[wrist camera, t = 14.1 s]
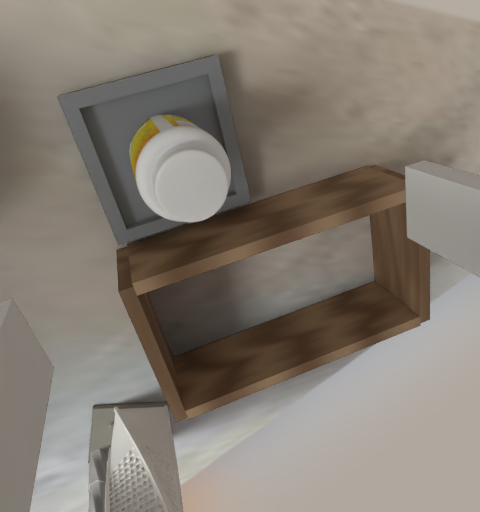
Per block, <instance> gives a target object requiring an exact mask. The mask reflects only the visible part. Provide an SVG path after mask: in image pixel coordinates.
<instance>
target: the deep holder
mask: <svg viewBox="0 0 480 512" xmlns="http://www.w3.org/2000/svg"><path fill="white" fill-rule="evenodd" d="M368 215H370V221H371V234H372V247H373V260H374V274H375V281H374V282H371V283H369V284H366V285H363V286H361V287H358V288H355V289H353V290H350V291H347V292H345V293H342V294H340V295H337V296H334V297H332V298H329V299H326V300H324V301H321V302H318V303H316V304H313V305H310V306H308V307H305V308H303V309H300V310H297V311H295V312H292V313H289V314H287V315H284V316H281V317H279V318H276V319H273V320H271V321H268V322H266V323H263V324H260V325H258V326H255V327H252V328H250V329H247V330H244V331H242V332H239V333H237V334H234V335H231V336H229V337H226V338H223V339H221V340H218V341H215V342H213V343H210V344H207V345H205V346H202V347H200V348H197V349H194V350H192V351H189V352H186V353H184V354H181V355H178V356H176V357H172V354H171V352H170V349H169V347H168V344H167V342H166V339H165V337H164V334H163V332H162V329H161V327H160V324H159V322H158V319H157V317H156V314H155V312H154V309H153V307H152V304H151V302H150V299H149V297H148V294H147V292H150V291H152V290H155V289H158V288H161V287H164V286H167V285H170V284H173V283H175V282H178V281H181V280H184V279H187V278H190V277H193V276H196V275H198V274H201V273H204V272H207V271H210V270H213V269H216V268H218V267H221V266H224V265H227V264H230V263H233V262H236V261H239V260H241V259H244V258H247V257H250V256H253V255H256V254H259V253H261V252H264V251H267V250H270V249H273V248H276V247H279V246H282V245H284V244H287V243H290V242H293V241H296V240H299V239H302V238H304V237H307V236H310V235H313V234H316V233H319V232H322V231H325V230H327V229H330V228H333V227H336V226H339V225H342V224H345V223H347V222H350V221H353V220H356V219H359V218H362V217H365V216H368ZM127 245H128V247H126V248H123V249H120V250H117V270H118V290H119V294H120V296H121V298H122V301H123V303H124V305H125V307H126V310H127V312H128V314H129V317H130V319H131V321H132V323H133V326H134V328H135V330H136V332H137V335H138V337H139V339H140V342H141V344H142V346H143V348H144V351H145V353H146V355H147V357H148V360H149V362H150V364H151V367H152V369H153V371H154V373H155V376H156V378H157V380H158V382H159V385H160V387H161V389H162V392H163V394H164V396H165V398H166V401H167V403H168V405H169V407H170V410H171V412H172V414H173V417H174V419H175V421H176V422H178V421H180V420H183V419H185V418H188V419H191V418H194V417H196V416H198V415H201V414H203V413H206V412H208V411H211V410H213V409H216V408H218V407H221V406H223V405H226V404H228V403H230V402H233V401H235V400H238V399H240V398H243V397H245V396H248V395H250V394H253V393H255V392H258V391H260V390H262V389H265V388H267V387H270V386H272V385H275V384H277V383H280V382H282V381H285V380H287V379H290V378H292V377H294V376H297V375H299V374H302V373H304V372H307V371H309V370H312V369H314V368H317V367H319V366H322V365H324V364H326V363H329V362H331V361H334V360H336V359H339V358H341V357H344V356H346V355H349V354H351V353H354V352H356V351H359V350H361V349H363V348H366V347H368V346H371V345H373V344H376V343H378V342H381V341H383V340H386V339H388V338H391V337H393V336H395V335H398V334H400V333H403V332H405V331H408V330H410V329H412V328H415V327H418V326H420V323H422V322H425V321H427V320H429V319H430V250H429V249H427V248H426V247H424V246H422V245H420V244H418V243H417V242H415V241H413V240H411V239H409V238H407V218H406V185H405V176H404V175H402V174H399V173H396V172H393V171H390V170H388V169H385V168H382V167H379V166H373V167H368V166H365V167H362V168H359V169H356V170H352V171H349V172H346V173H343V174H340V175H337V176H334V177H331V178H328V179H325V180H322V181H319V182H316V183H313V184H310V185H307V186H304V187H300V188H297V189H294V190H291V191H288V192H285V193H282V194H279V195H276V196H273V197H270V198H267V199H264V200H261V201H258V202H255V203H252V204H248V205H245V206H242V207H239V208H236V209H233V210H230V211H227V212H224V213H221V214H218V215H215V216H212V217H209V218H208V219H205V220H203V221H199V222H193V223H190V224H187V225H184V226H181V227H178V228H175V229H172V230H169V231H166V232H163V233H160V234H157V235H154V236H151V237H148V238H144V239H141V240H138V241H135V242H132V243H129V244H127Z"/></svg>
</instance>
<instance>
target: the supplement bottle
mask: <svg viewBox="0 0 480 512" xmlns="http://www.w3.org/2000/svg"><path fill="white" fill-rule="evenodd" d="M129 154H130V161H131V165H132V169H133V173H134V177H135V181H136V184H137V187H138V190H139V193H140V195H141V197H142V199H143V200H144V202H145V203H146V204H147V205H148V207H149V208H150V209H151V210H153V211H154V212H155V213H156V214H158V215H160V216H161V217H163V218H166V219H169V220H172V221H178V222H199V221H203V220H205V219H208V218H209V217H211V216H213V215H214V214H215V213H216V212H217V211H218V210H219V209H220V208H221V207H222V205H223V204H224V202H225V199H226V197H227V193H228V189H229V186H230V180H231V168H230V162H229V159H228V156H227V154H226V152H225V150H224V149H223V147H222V146H221V144H220V143H219V142H218V141H217V140H216V139H215V138H214V137H213V136H212V135H210V134H209V133H207V132H206V131H204V130H202V129H201V128H199V127H198V126H196V125H195V124H193V123H192V122H190V121H188V120H187V119H185V118H183V117H180V116H177V115H173V114H160V115H156V116H153V117H151V118H149V119H147V120H146V121H144V122H143V123H142V124H141V125H140V126H139V127H138V128H137V129H136V131H135V133H134V134H133V136H132V139H131V142H130V149H129Z"/></svg>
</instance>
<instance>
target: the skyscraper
mask: <svg viewBox="0 0 480 512" xmlns="http://www.w3.org/2000/svg"><path fill="white" fill-rule="evenodd" d="M107 462H108V463H107ZM88 463H89V486H88V492H89V512H183V506H182V498H181V489H180V481H179V474H178V467H177V460H176V454H175V448H174V441H173V435H172V429H171V423H170V417H169V411H168V405H167V402H157V403H137V404H117V405H97V406H93V417H92V428H91V439H90V450H89V462H88Z"/></svg>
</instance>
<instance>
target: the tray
mask: <svg viewBox="0 0 480 512" xmlns="http://www.w3.org/2000/svg"><path fill="white" fill-rule="evenodd" d="M57 98H58V100H59V102H60V105H61V107H62V110H63V112H64V114H65V117H66V119H67V122H68V124H69V127H70V129H71V131H72V134H73V136H74V139H75V141H76V144H77V146H78V148H79V151H80V153H81V156H82V158H83V160H84V163H85V165H86V168H87V170H88V173H89V175H90V177H91V180H92V182H93V185H94V187H95V190H96V192H97V194H98V197H99V199H100V202H101V204H102V206H103V209H104V211H105V214H106V216H107V219H108V221H109V223H110V226H111V228H112V231H113V233H114V236H115V238H116V240H117V243H118V245H122V244H125V243H128V242H131V241H134V240H137V239H140V238H143V237H146V236H149V235H152V234H155V233H158V232H161V231H164V230H168V229H171V228H174V227H177V226H180V225H183V224H186V223H189V222H178V221H172V220H169V219H166V218H163V217H161V216H160V215H158V214H156V213H155V212H154V211H153V210H151V209H150V208H149V207H148V205H147V204H146V203H145V202H144V200H143V199H142V197H141V195H140V193H139V190H138V187H137V184H136V181H135V177H134V173H133V169H132V165H131V161H130V154H129V149H130V142H131V139H132V136H133V134H134V133H135V131H136V129H137V128H138V127H139V126H140V125H141V124H142V123H143V122H144V121H146V120H147V119H149V118H151V117H153V116H156V115H160V114H173V115H177V116H180V117H183V118H185V119H187V120H188V121H190V122H192V123H193V124H195V125H196V126H198V127H199V128H201V129H202V130H204V131H206V132H207V133H209V134H210V135H212V136H213V137H214V138H215V139H216V140H217V141H218V142H219V143H220V144H221V146H222V147H223V149H224V150H225V152H226V154H227V156H228V159H229V162H230V168H231V180H230V186H229V189H228V193H227V197H226V199H225V202H224V204H223V205H222V207H221V208H220V209H219V210H218V211H217V212H216V213H215V214H217V213H220V212H223V211H226V210H229V209H232V208H235V207H238V206H241V205H244V204H247V203H250V202H251V198H250V194H249V190H248V185H247V181H246V176H245V172H244V167H243V163H242V158H241V154H240V149H239V145H238V140H237V136H236V132H235V127H234V123H233V118H232V114H231V109H230V105H229V100H228V96H227V91H226V87H225V82H224V78H223V74H222V69H221V65H220V60H219V56H218V55H212V56H209V57H205V58H201V59H197V60H193V61H189V62H186V63H182V64H178V65H174V66H170V67H167V68H163V69H159V70H155V71H151V72H147V73H144V74H140V75H136V76H132V77H128V78H124V79H121V80H117V81H113V82H109V83H105V84H101V85H98V86H94V87H90V88H86V89H82V90H78V91H75V92H71V93H67V94H63V95H59V96H58V97H57Z"/></svg>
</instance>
